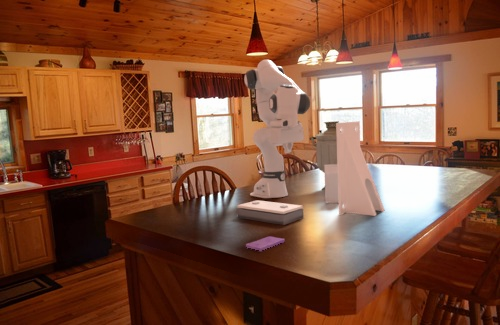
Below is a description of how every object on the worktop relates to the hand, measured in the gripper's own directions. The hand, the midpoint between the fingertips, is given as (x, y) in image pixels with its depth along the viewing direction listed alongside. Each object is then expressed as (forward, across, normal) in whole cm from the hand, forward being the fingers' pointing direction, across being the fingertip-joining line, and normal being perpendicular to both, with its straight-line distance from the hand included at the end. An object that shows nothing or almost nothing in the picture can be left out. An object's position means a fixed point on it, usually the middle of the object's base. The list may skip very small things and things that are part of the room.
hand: (288, 153), depth 178 cm
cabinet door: (+24, +10, -3) cm, 26 cm away
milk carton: (+28, -32, +3) cm, 43 cm away
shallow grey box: (+28, +10, -3) cm, 30 cm away
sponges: (+27, +41, +21) cm, 53 cm away
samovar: (+29, -67, -14) cm, 75 cm away
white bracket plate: (+27, -21, +26) cm, 43 cm away
